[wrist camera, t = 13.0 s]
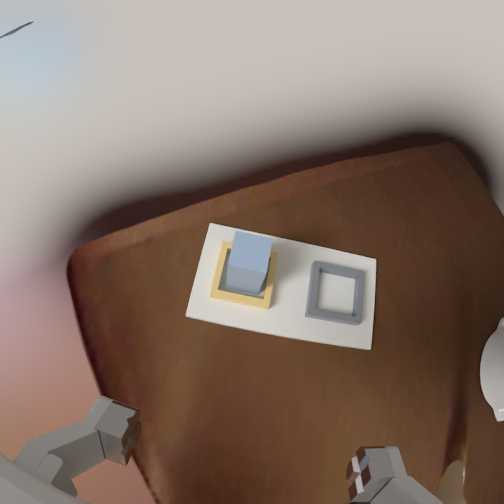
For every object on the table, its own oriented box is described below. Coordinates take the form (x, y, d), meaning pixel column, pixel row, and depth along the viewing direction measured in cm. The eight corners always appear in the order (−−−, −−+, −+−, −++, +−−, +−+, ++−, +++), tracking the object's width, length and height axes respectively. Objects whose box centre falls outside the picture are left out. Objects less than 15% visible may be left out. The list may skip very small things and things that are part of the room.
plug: (263, 261, 41) (273, 233, 34) (257, 294, 39) (266, 273, 32) (233, 255, 41) (236, 225, 34) (225, 288, 39) (227, 265, 32)
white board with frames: (374, 260, 44) (380, 255, 42) (368, 349, 38) (375, 348, 36) (210, 225, 43) (209, 217, 41) (186, 316, 38) (184, 313, 36)
